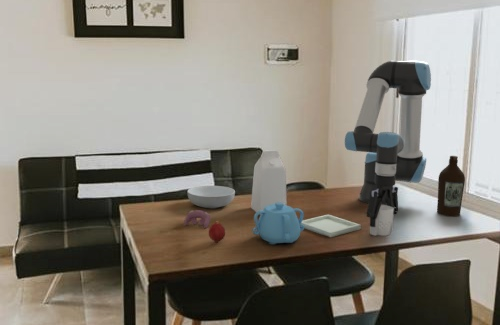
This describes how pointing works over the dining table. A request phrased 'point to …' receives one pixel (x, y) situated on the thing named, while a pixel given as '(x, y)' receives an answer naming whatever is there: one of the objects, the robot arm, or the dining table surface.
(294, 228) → the decorative pot
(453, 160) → the olive oil
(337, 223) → the tray
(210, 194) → the serving bowl
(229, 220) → the dining table surface
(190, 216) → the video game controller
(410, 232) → the dining table surface
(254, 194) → the milk
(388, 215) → the white cup
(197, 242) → the dining table surface
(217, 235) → the onion
